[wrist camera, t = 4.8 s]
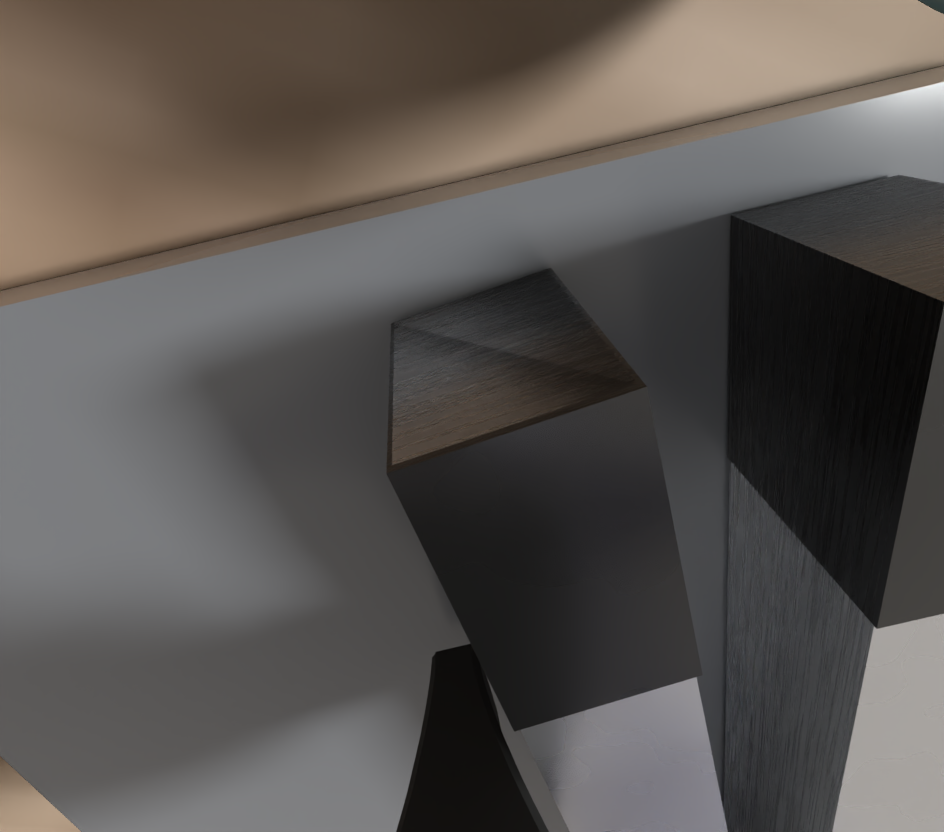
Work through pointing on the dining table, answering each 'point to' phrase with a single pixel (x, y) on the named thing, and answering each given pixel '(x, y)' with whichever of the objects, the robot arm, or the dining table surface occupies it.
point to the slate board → (344, 465)
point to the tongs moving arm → (557, 547)
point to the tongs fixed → (836, 513)
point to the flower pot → (934, 4)
